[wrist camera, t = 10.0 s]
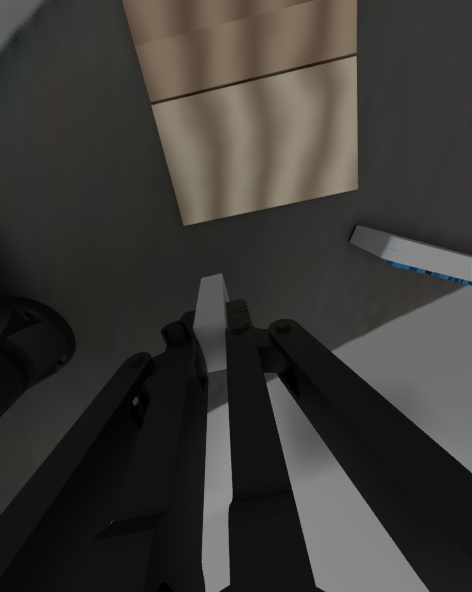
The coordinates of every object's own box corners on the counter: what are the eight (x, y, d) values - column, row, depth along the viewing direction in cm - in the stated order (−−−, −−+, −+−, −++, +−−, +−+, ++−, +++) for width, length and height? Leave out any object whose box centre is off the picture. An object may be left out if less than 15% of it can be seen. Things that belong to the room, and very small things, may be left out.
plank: (185, 225, 35) (183, 225, 34) (154, 108, 30) (151, 105, 29) (353, 189, 34) (358, 189, 33) (351, 61, 29) (356, 56, 27)
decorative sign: (343, 247, 38) (380, 267, 29) (354, 223, 37) (396, 236, 27) (513, 291, 42) (591, 320, 33) (529, 270, 41) (615, 296, 32)
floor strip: (153, 105, 30) (150, 102, 29) (121, -11, 25) (116, -20, 24) (351, 57, 28) (356, 52, 27) (351, -73, 24) (357, -85, 23)
